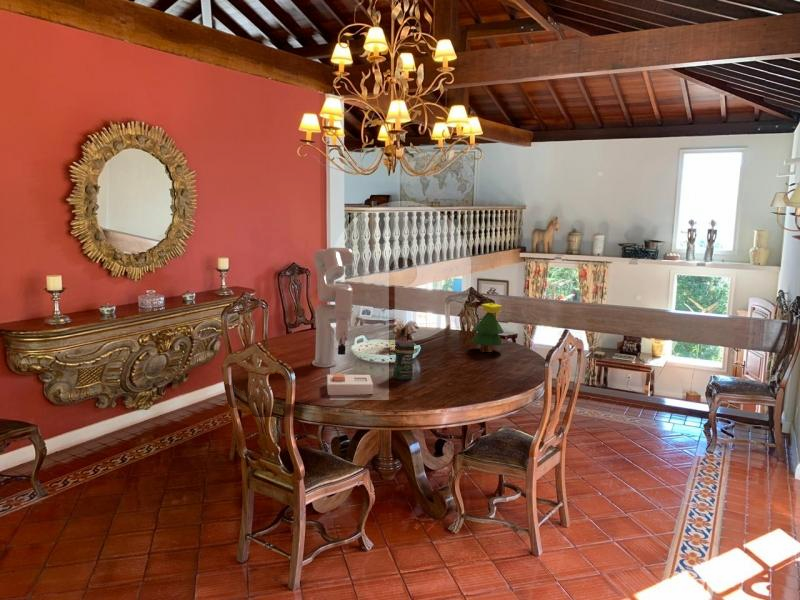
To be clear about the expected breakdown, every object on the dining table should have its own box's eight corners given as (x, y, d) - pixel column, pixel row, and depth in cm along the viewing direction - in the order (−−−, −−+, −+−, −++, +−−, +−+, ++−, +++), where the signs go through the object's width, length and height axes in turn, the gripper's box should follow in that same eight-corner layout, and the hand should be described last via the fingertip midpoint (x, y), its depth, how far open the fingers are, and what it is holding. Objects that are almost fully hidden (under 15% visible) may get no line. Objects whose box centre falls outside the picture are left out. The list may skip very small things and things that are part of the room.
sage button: (354, 385, 276) (354, 378, 275) (365, 385, 277) (365, 378, 276) (355, 389, 271) (355, 382, 270) (366, 389, 272) (366, 382, 271)
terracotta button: (332, 380, 274) (333, 373, 273) (343, 380, 275) (344, 373, 274) (333, 384, 269) (333, 376, 268) (344, 384, 270) (344, 376, 269)
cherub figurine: (421, 346, 358) (422, 317, 355) (418, 354, 340) (420, 323, 337) (391, 343, 360) (393, 315, 357) (388, 351, 342) (389, 321, 339)
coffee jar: (395, 380, 290) (397, 343, 287) (391, 375, 298) (393, 339, 294) (414, 380, 293) (416, 343, 290) (409, 375, 301) (412, 339, 297)
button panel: (326, 384, 278) (327, 374, 278) (369, 384, 282) (369, 374, 281) (328, 395, 265) (328, 384, 264) (372, 395, 268) (373, 384, 267)
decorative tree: (463, 349, 356) (467, 300, 351) (486, 345, 368) (490, 298, 362) (486, 357, 341) (490, 306, 336) (509, 353, 353) (514, 304, 347)
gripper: (333, 310, 273) (332, 349, 276) (335, 318, 258) (334, 358, 262) (349, 311, 274) (348, 349, 277) (353, 318, 260) (351, 358, 263)
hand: (341, 354), depth 270 cm, fingers closed
